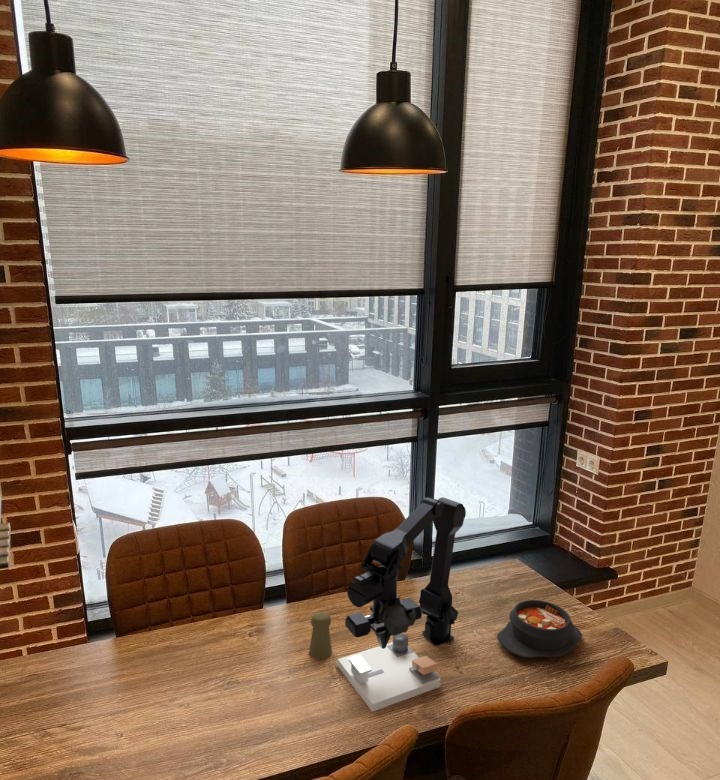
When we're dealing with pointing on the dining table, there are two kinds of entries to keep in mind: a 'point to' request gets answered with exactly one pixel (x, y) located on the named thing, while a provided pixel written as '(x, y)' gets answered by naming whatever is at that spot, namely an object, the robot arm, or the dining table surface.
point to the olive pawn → (320, 636)
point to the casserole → (539, 630)
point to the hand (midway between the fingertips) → (382, 647)
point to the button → (400, 643)
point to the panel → (389, 677)
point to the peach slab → (424, 665)
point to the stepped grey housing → (360, 669)
